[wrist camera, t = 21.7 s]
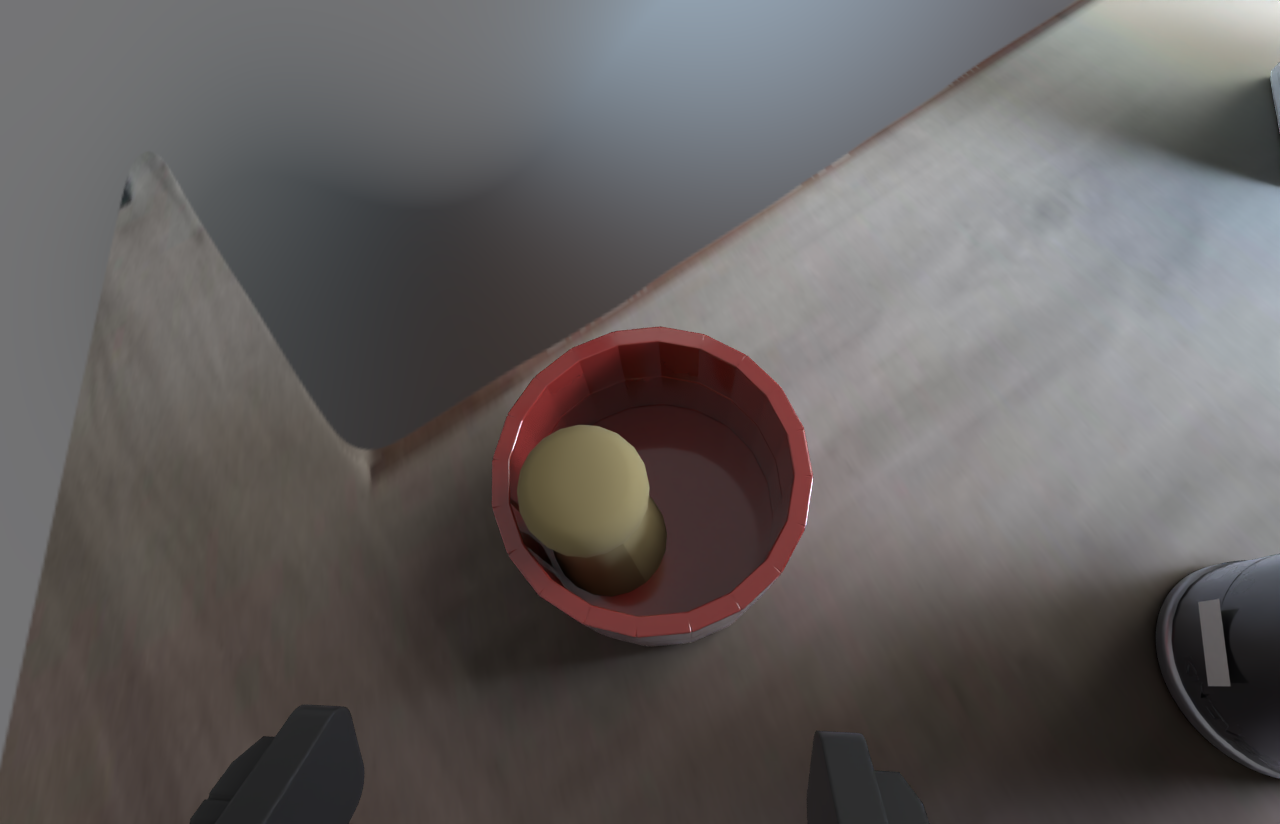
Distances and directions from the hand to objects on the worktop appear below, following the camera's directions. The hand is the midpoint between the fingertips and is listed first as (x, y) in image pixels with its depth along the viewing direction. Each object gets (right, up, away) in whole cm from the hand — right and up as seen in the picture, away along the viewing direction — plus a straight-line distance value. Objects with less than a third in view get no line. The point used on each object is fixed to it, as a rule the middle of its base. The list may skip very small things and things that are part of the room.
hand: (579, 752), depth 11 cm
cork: (-1, -1, +23) cm, 23 cm away
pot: (+2, 0, +24) cm, 24 cm away
